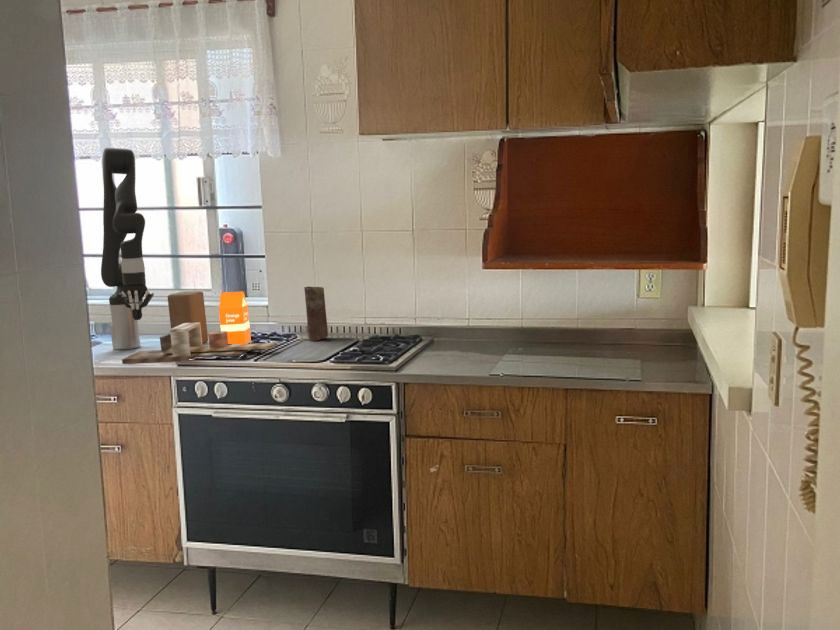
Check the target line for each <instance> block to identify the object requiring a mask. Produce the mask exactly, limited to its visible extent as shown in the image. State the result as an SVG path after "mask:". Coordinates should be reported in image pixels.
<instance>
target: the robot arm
mask: <svg viewBox="0 0 840 630" xmlns="http://www.w3.org/2000/svg"><path fill="white" fill-rule="evenodd" d="M101 156H102V158H101V161H102V162H101V163H102V165H101V166H102V180H103V209H102V210H103V211H102V212H103V217H102V218H103V219H102V221H103V222H102V224H103V239H102V240H103V243H102V255H101V265H100V276H101V280H102V282H103V284H104V285H105V286H106V287H108V288H113V287H114V288H115V287H116V291H115V292H114V293H113V294H111V295H110V297H109V298H108V301H109V309H110V317H111V318H110V319H111V324H110V325H109V328H110V336H111V343H112V345H111V346H112V350H122V351H123V350H130V349H136V348H139V347H141V339H140V330H139V329H140V328H139V321H140V320H141V319H142V318H143V312H142V309H144V308H146V307H147V306H148V305H149V303H150V301H151V300H152V298H153V297H154V295H155V293H154V292H150V291H149V290H148V287H147V284H146V283H147V282H146V281H147V280H146V268H145V261H144V256H143V255H144V254H143V238H144V237H143V235H144V231H145V228H146V227H145V226H146V219H145V217H144V215H143V213H140V212H137V211H138V202H137V195H136V158H135V153H134V151H133V150H132V149H129V148H118V147H104V149H103V150H102V155H101ZM113 174H116V175H125V176H124V178H123V179H122V181H121V182H120V183H119V184H118V186H116V184H115V181H114V179H113ZM129 234H130V235H132V234H134V237H133V238H131V239H128V240H125V239H126V237H127V236H128V235H129ZM120 256H121V260H120ZM144 297H145V298H144ZM143 298H144V299H143Z"/></svg>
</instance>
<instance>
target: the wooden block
mask: <svg viewBox="0 0 840 630" xmlns="http://www.w3.org/2000/svg"><path fill="white" fill-rule="evenodd" d="M167 304H168V313H169V322H170V323H169V324H170V329H172V328H174V327H177V326H179V325H181V324H183V323H196V322H200V325H201V335H202V344H203V345H204V344H205V343H209V336H208V334H209V333H208V327H207V317H206V308H205V307H206V306H205V297H204V293H203V291H201V290H198V291H197V290H194V291H193V290H192V291H187V290H186V291H180V292H175V293H171V294H169V295H167Z"/></svg>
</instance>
